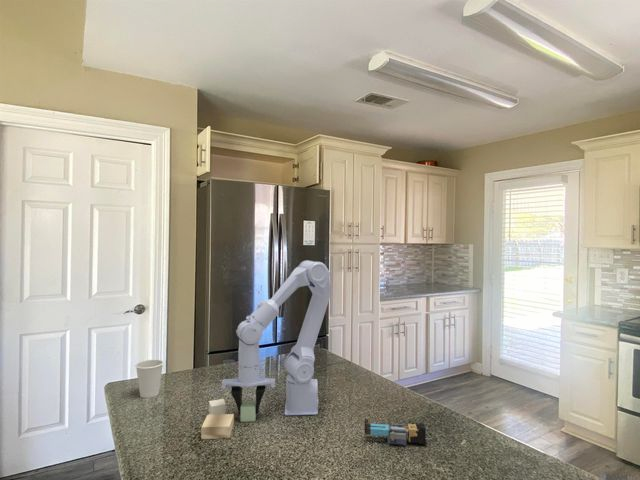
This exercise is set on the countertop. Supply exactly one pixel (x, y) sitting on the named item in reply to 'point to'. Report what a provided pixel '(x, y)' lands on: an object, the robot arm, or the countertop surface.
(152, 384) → the dixie cup
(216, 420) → the maple block
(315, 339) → the robot arm
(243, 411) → the sage block
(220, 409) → the ivory block
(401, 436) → the toy
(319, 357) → the countertop surface
